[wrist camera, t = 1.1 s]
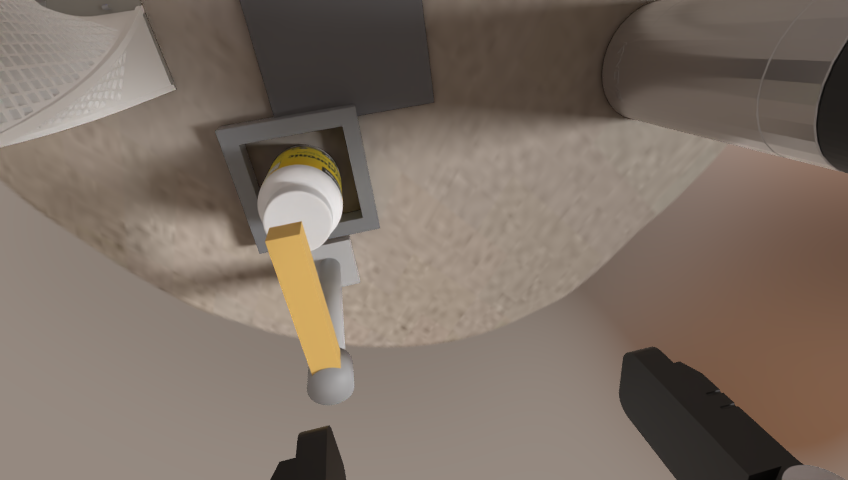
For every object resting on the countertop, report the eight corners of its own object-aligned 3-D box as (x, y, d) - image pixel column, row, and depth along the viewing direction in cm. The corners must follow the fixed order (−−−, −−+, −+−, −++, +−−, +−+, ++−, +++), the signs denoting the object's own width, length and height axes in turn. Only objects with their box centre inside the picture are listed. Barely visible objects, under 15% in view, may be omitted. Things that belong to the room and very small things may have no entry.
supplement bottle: (353, 168, 34) (362, 211, 25) (317, 220, 35) (314, 279, 26) (293, 128, 31) (279, 161, 23) (257, 185, 33) (231, 238, 24)
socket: (353, 103, 31) (367, 136, 20) (388, 271, 38) (413, 365, 27) (220, 126, 30) (158, 175, 19) (281, 295, 37) (260, 405, 26)
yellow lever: (356, 374, 26) (358, 398, 24) (314, 384, 26) (313, 410, 24) (311, 217, 21) (310, 233, 19) (259, 228, 21) (253, 245, 19)
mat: (409, -88, 27) (411, -90, 27) (433, 101, 33) (434, 102, 32) (221, -66, 26) (220, -67, 25) (278, 128, 31) (277, 130, 31)
